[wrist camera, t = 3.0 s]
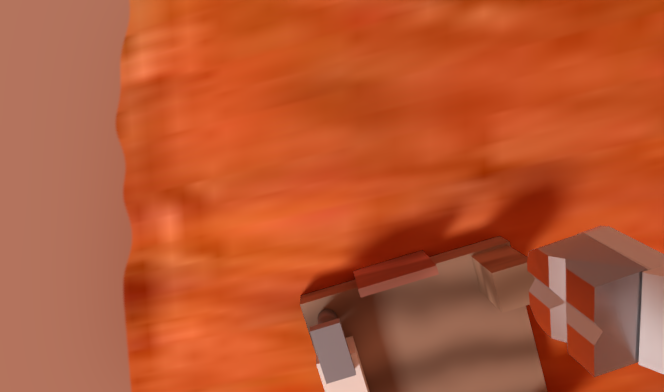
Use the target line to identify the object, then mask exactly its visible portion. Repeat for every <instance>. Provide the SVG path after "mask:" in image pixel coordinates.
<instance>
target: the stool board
mask: <svg viewBox="0 0 664 392" xmlns="http://www.w3.org/2000/svg"><path fill="white" fill-rule="evenodd" d="M353 273H354V277H355V279H354V280H351V281H348V282H344V283H341V284H338V285H334V286H331V287H328V288H324V289H321V290H318V291H314V292H311V293H308V294H304V295H301V299H300V306H301V309H302V312H303V315H304V318H305V321H306V324H307V328H308V331H309V334H310V327H311V326H315V325H318V324H321V323H325V322H328V321H331V320H335V319H338V318H339V319H340V322H341V325H342V328H343V331H344V335H345V338H347V337H350V336H353V339H354V342H355V346H356V349H357V352H358V355H359V359H360V362H361V365H362V368H363V372H364V375H365V378H366V381H367V385H368V388H369V391H370V392H548V391H547V387H546V383H545V380H544V376H543V372H542V368H541V364H540V360H539V356H538V352H537V348H536V344H535V340H534V336H533V332H532V328H531V324H530V320H529V316H528V312H527V308H526V306H527V305H530V301H529V289H530V287H531V286H532V284H533V282H534V280H535V278H534V277H533V276H532V275H531V274H530V273H529V272H528V271H527V257H526V256H525V255H523V254H521V253H520V252H518V251H517V250H515V249H513V248H512V247H511V245H510V242H509V241H508V240H506V239H504V238H502V237H501V236H498V237H494V238H491V239H488V240H484V241H481V242H478V243H474V244H471V245H468V246H464V247H461V248H458V249H454V250H451V251H448V252H444V253H441V254H438V255H434V256H431V257H428V255H427V254H426V253H425V252H424V251H423V250H421V251H418V252H415V253H411V254H408V255H405V256H401V257H398V258H395V259H391V260H388V261H385V262H381V263H378V264H375V265H371V266H368V267H365V268H361V269H358V270H355V271H353ZM310 337H311V334H310ZM311 340H312V337H311ZM312 343H313V340H312ZM313 346H314V344H313ZM314 349H315V347H314ZM315 353H316V350H315Z"/></svg>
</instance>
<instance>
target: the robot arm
mask: <svg viewBox="0 0 664 392" xmlns="http://www.w3.org/2000/svg"><path fill="white" fill-rule="evenodd" d="M527 271H528V272H529V273H530V274H531V275H532V276H533V277H534V278H535V280H534V282H533V284H532V286H531V287H530V289H529V301H530V307H531V310H532V312H533V315H534V317H535V320H536V321H537V323H538V324H539V326H540V327H541V329H542V330H543V331H544V332H545V333H546V334H547V335H548V336H550V337H551V338H552V339H556V340H559V341H562V342H566V343H567V348H568V354H569V355H570V356H572V357H573V358H574V359H575V360H576V361H577V362H578V363H579V364H581V365H582V366H583V367H584V368H585V369H586V370H587V371H588V372H589V373H591V374H592V375H593V376H594V377H596V376H599V375H602V374H605V373H607V372H610V371H613V370H616V369H619V368H622V367H625V366H628V365H631V364H634V363H637V362H639V365H641V366H644V367H646V368H649V369H651V370H654V371H657V372H659V373H662V374H664V254H662V253H660V252H658V251H656V250H654V249H652V248H650V247H648V246H646V245H645V244H643V243H641V242H639V241H637V240H635V239H633V238H631V237H629V236H627V235H625V234H623V233H621V232H619V231H617V230H615V229H613V228H611V227H608V226H598V227H595V228H593V229H590V230H587V231H584V232H582V233H579V234H577V235H575V236H572V237H569V238H566V239H563V240H560V241H557V242H554V243H551V244H548V245H545V246H542V247H539V248H536V249H533V250H531V251H529V254H528V257H527Z"/></svg>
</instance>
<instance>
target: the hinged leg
mask: <svg viewBox="0 0 664 392" xmlns="http://www.w3.org/2000/svg"><path fill="white" fill-rule="evenodd" d="M310 334H311V337H312V340H313V344H314V347H315V350H316V365H317V368H318V371H319V374H320V377H321V380H322V383H323V387H324V390H325V392H370V391H369V388H368V385H367V381H366V378H365V375H364V372H363V368H362V365H361V362H360V359H359V355H358V352H357V349H356V346H355V342H354V339H353V336H350V337H347V338H345V335H344V331H343V328H342V325H341V322H340V319H339V318H338V319H335V320H331V321H328V322H325V323H321V324H318V325H315V326H311V327H310Z"/></svg>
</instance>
